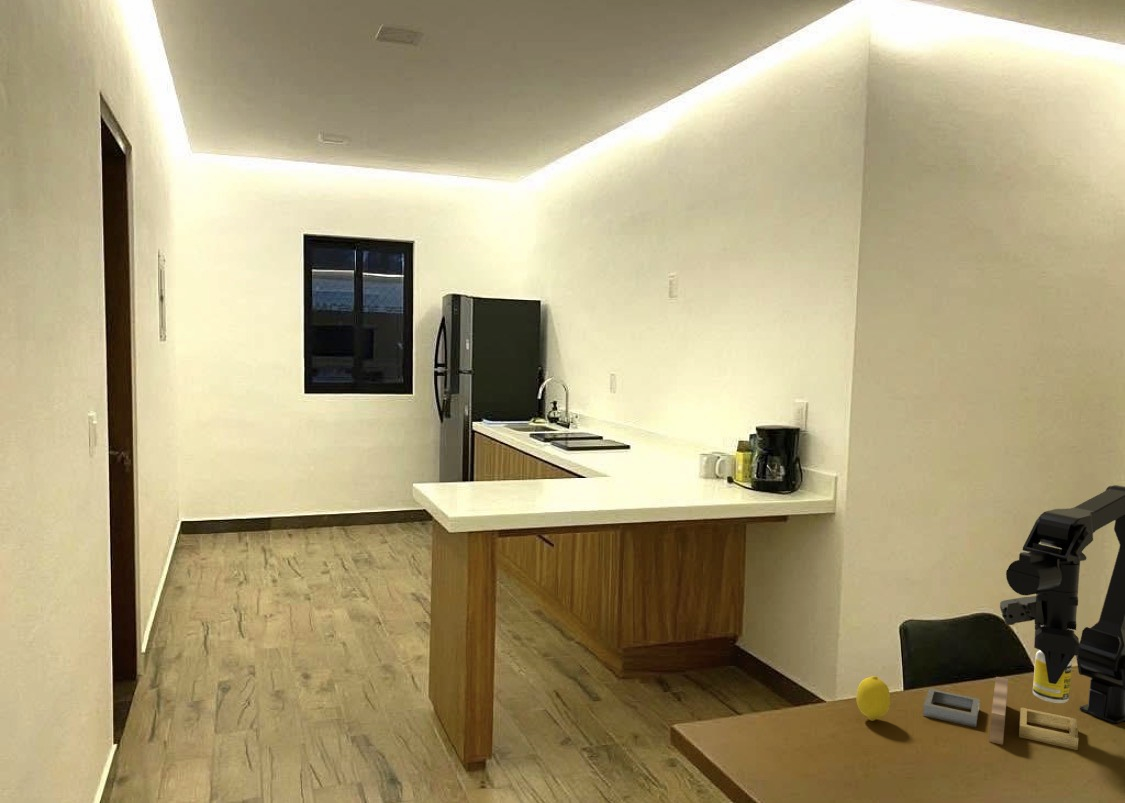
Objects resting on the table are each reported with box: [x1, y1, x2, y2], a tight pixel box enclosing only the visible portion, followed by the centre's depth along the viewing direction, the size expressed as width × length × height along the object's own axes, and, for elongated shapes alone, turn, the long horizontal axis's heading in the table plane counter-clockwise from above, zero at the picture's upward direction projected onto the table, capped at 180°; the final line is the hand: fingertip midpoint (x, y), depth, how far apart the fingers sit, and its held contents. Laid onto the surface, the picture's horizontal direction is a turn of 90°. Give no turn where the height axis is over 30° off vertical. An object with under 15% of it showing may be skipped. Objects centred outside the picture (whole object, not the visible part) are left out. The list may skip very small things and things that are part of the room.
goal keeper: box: [1018, 707, 1079, 751], centre depth 145 cm, size 8×8×2 cm
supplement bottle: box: [1032, 649, 1073, 704], centre depth 144 cm, size 5×5×10 cm
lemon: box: [855, 675, 891, 722], centre depth 148 cm, size 6×6×8 cm
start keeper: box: [922, 688, 981, 728], centre depth 152 cm, size 8×8×2 cm
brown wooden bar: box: [989, 676, 1009, 746], centre depth 149 cm, size 18×2×5 cm, turn 151°
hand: (1052, 677), depth 145 cm, fingers closed on supplement bottle, 5 cm apart
